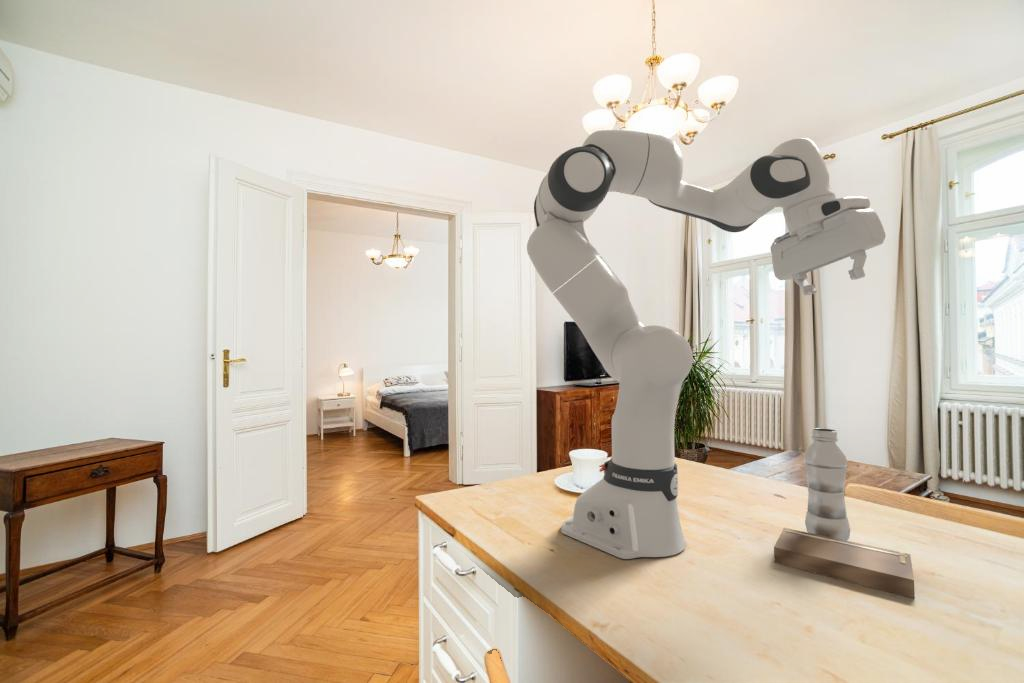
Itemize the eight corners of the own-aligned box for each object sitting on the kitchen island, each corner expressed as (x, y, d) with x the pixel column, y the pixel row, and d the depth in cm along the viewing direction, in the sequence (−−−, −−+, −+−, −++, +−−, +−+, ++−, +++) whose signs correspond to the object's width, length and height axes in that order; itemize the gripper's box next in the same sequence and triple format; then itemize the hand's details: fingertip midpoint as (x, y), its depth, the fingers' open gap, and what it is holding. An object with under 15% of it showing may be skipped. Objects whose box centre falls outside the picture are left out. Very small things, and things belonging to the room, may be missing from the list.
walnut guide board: (774, 562, 73) (773, 546, 73) (784, 541, 80) (784, 527, 80) (914, 598, 62) (914, 579, 62) (910, 570, 70) (910, 553, 70)
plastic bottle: (858, 550, 77) (855, 433, 77) (814, 547, 78) (812, 432, 78) (839, 535, 83) (836, 427, 83) (798, 532, 84) (796, 426, 85)
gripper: (758, 242, 96) (775, 303, 94) (853, 193, 77) (877, 268, 75) (779, 241, 98) (797, 301, 96) (878, 193, 79) (902, 266, 77)
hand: (833, 286), depth 85 cm, fingers open, 8 cm apart
